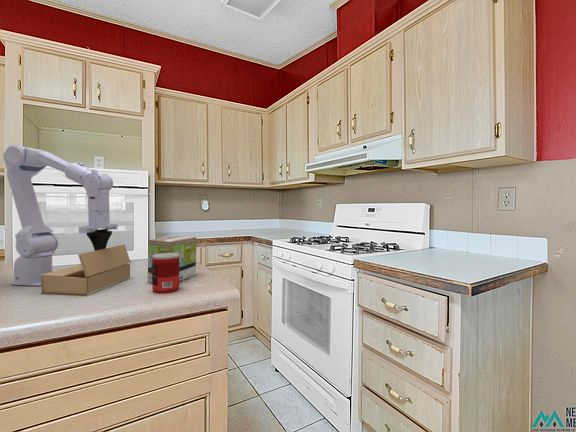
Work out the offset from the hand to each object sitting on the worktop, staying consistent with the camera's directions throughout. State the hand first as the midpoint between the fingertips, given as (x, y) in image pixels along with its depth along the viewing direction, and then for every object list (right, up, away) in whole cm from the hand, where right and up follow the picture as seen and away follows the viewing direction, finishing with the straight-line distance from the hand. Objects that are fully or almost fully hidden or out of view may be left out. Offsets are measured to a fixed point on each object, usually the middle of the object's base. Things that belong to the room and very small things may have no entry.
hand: (100, 253), depth 94 cm
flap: (+2, -2, 0) cm, 3 cm away
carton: (-4, -10, +1) cm, 11 cm away
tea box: (+19, -11, +11) cm, 24 cm away
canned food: (+22, -11, -2) cm, 25 cm away
